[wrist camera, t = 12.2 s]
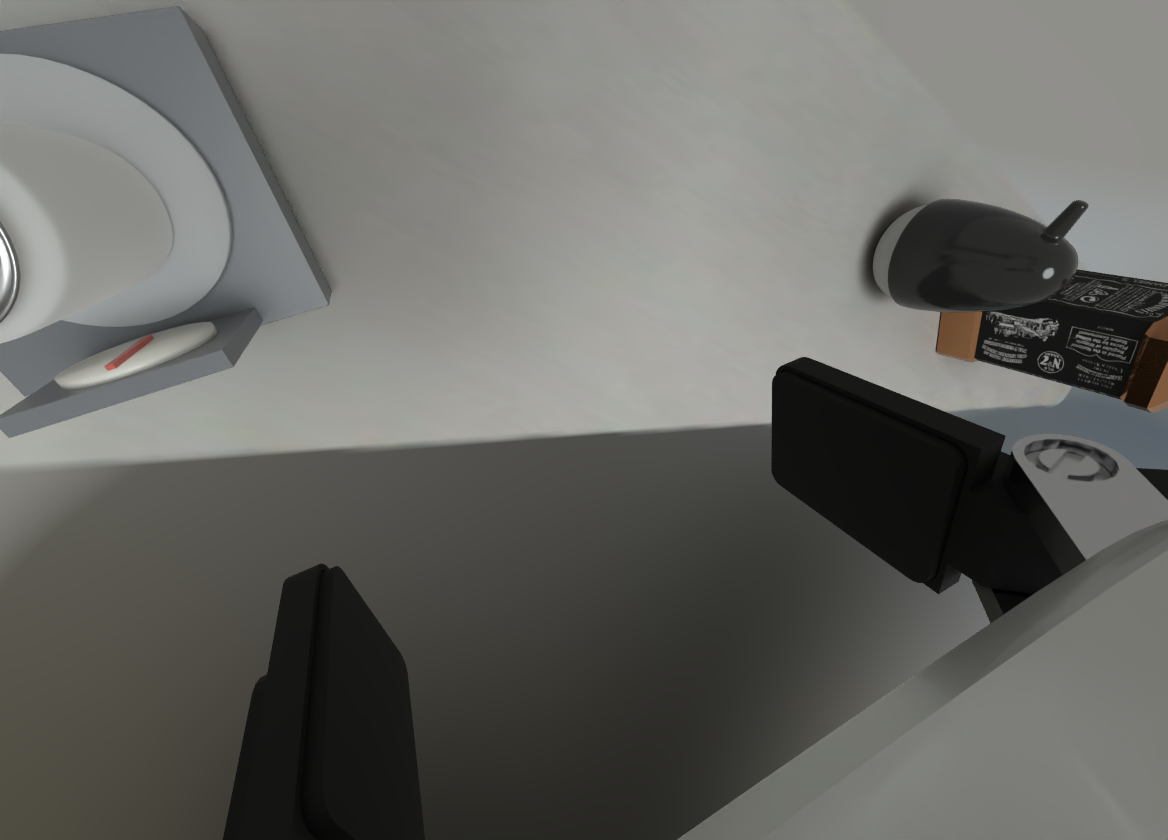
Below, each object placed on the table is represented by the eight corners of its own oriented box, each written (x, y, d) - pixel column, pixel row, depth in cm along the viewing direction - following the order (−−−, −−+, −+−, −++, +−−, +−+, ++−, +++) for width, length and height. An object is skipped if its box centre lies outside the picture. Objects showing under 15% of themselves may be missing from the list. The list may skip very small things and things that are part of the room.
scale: (-182, 88, 20) (-688, 3, 10) (202, 29, 24) (96, -74, 14) (64, 370, 27) (-100, 478, 17) (331, 291, 31) (320, 344, 21)
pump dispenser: (940, 192, 49) (1140, 197, 37) (912, 293, 54) (1078, 328, 41) (870, 197, 46) (1063, 205, 33) (846, 305, 50) (1006, 347, 38)
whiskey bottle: (934, 357, 61) (1372, 492, 35) (944, 284, 56) (1470, 380, 29) (991, 323, 63) (1446, 428, 37) (1006, 250, 57) (1550, 311, 31)
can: (188, 291, 24) (71, 367, 14) (8, 282, 21) (-289, 368, 12) (159, 146, 21) (-7, 116, 12) (-49, 115, 19) (-494, 42, 9)
